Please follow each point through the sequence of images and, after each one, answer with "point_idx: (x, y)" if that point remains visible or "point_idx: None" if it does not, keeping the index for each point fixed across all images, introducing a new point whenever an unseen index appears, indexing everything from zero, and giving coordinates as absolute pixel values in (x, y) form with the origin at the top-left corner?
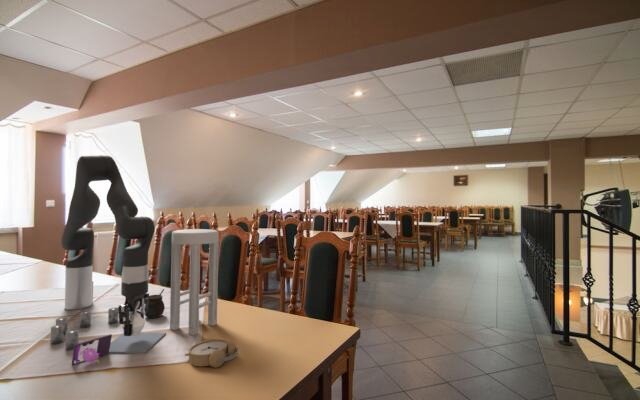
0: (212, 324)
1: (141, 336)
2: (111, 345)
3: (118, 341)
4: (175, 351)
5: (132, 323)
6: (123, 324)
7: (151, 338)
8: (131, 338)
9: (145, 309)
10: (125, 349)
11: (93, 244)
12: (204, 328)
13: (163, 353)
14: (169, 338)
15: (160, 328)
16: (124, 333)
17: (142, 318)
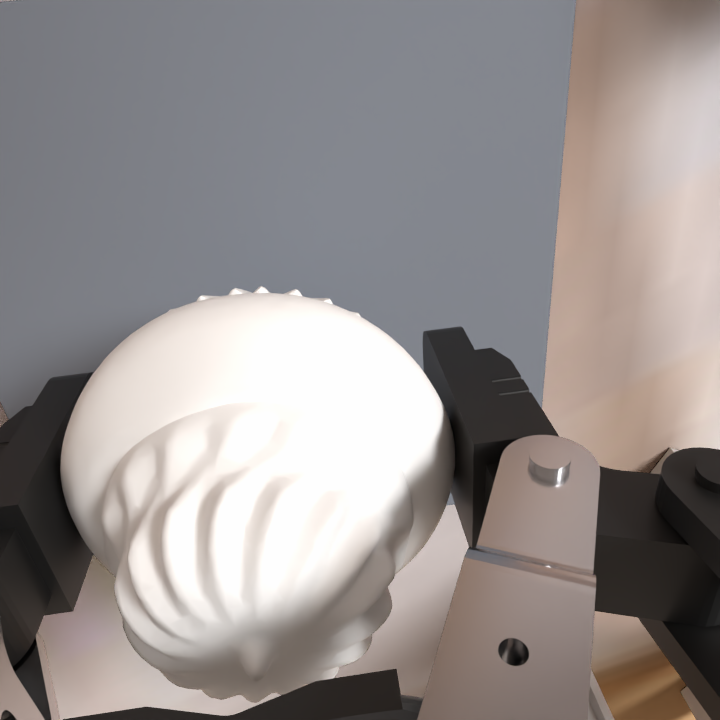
0: (688, 702)
1: (429, 311)
2: (82, 90)
3: (229, 103)
4: (190, 693)
5: (69, 609)
6: (122, 356)
7: None
8: (355, 226)
9: (653, 615)
10: (46, 360)
11: None
12: (635, 669)
13: (133, 649)
14: (427, 552)
15: (709, 347)
16: (4, 431)
17: (401, 567)
